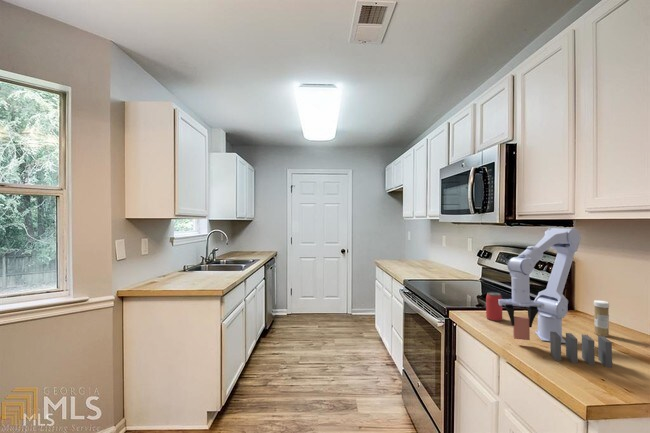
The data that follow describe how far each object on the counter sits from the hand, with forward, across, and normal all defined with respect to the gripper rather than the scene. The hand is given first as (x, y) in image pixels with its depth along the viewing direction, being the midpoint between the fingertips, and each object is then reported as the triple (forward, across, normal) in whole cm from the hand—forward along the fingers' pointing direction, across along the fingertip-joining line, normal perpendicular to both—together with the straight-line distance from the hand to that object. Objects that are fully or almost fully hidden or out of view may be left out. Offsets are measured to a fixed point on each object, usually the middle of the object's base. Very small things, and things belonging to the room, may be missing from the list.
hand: (521, 325), depth 116 cm
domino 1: (+7, +8, -8) cm, 14 cm away
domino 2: (+7, +13, -8) cm, 17 cm away
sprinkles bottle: (+8, +32, +20) cm, 38 cm away
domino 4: (+7, +22, -8) cm, 24 cm away
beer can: (+8, -5, +28) cm, 29 cm away
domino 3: (+7, +17, -8) cm, 21 cm away
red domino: (+5, 0, 0) cm, 5 cm away
